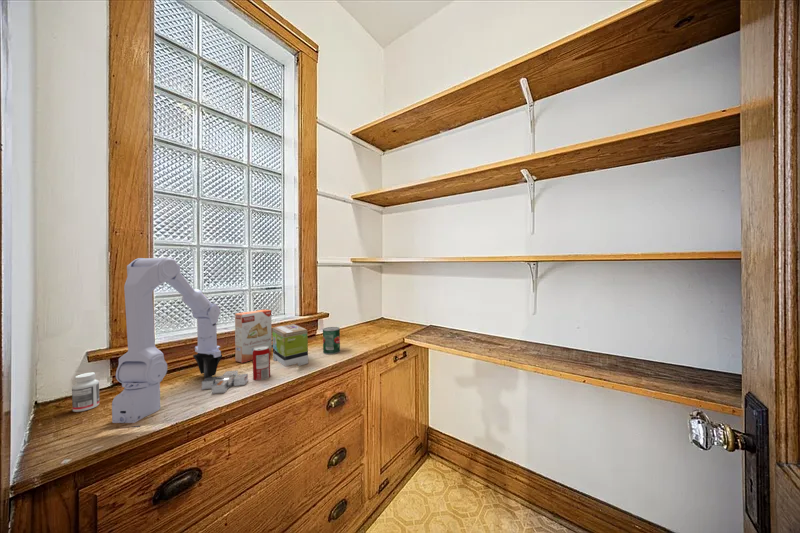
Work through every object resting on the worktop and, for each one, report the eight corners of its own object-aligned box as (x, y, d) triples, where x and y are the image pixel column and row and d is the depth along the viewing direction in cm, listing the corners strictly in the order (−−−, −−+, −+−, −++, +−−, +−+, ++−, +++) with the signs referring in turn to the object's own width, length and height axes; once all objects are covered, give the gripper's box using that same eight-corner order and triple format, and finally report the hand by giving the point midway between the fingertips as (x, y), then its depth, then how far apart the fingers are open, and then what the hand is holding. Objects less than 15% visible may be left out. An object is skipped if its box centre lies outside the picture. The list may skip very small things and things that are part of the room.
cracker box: (242, 363, 119) (241, 314, 119) (234, 361, 123) (233, 313, 123) (272, 354, 131) (271, 309, 131) (264, 352, 134) (264, 308, 134)
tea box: (272, 360, 123) (271, 326, 123) (295, 355, 129) (294, 323, 129) (284, 370, 111) (283, 332, 111) (309, 363, 118) (308, 328, 118)
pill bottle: (85, 403, 86) (84, 371, 86) (104, 402, 86) (104, 370, 86) (66, 413, 80) (65, 378, 80) (87, 411, 81) (86, 377, 81)
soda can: (261, 376, 105) (261, 344, 105) (273, 378, 103) (273, 345, 103) (249, 382, 99) (248, 348, 99) (262, 384, 98) (261, 349, 98)
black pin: (209, 382, 101) (208, 359, 101) (202, 382, 101) (201, 359, 101) (213, 379, 103) (213, 357, 103) (207, 379, 103) (206, 357, 103)
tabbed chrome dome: (251, 376, 102) (251, 368, 102) (240, 390, 90) (240, 382, 90) (212, 379, 99) (211, 372, 99) (195, 395, 87) (195, 387, 87)
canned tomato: (321, 350, 136) (321, 327, 136) (338, 348, 139) (337, 326, 139) (324, 355, 129) (324, 331, 129) (341, 352, 132) (341, 329, 132)
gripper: (229, 336, 101) (230, 374, 101) (209, 331, 109) (210, 367, 109) (207, 340, 95) (208, 381, 95) (188, 336, 103) (188, 373, 103)
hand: (208, 374), depth 102 cm, fingers open, 5 cm apart
